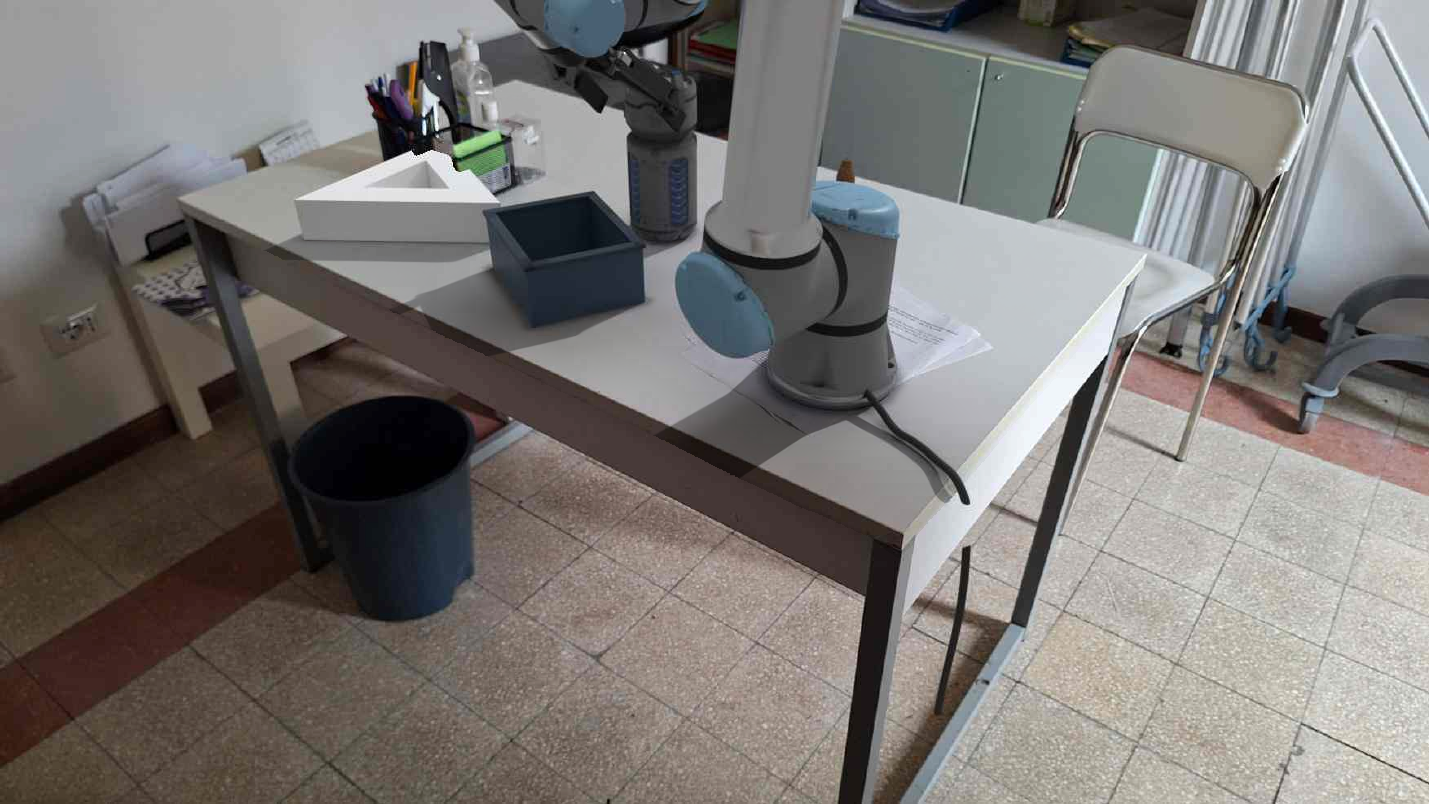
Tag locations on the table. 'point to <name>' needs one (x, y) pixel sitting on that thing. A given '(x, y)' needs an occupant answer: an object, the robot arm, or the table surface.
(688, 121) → the grey piece
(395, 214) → the triangle block
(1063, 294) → the table surface
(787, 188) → the robot arm
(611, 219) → the dark blue open box
